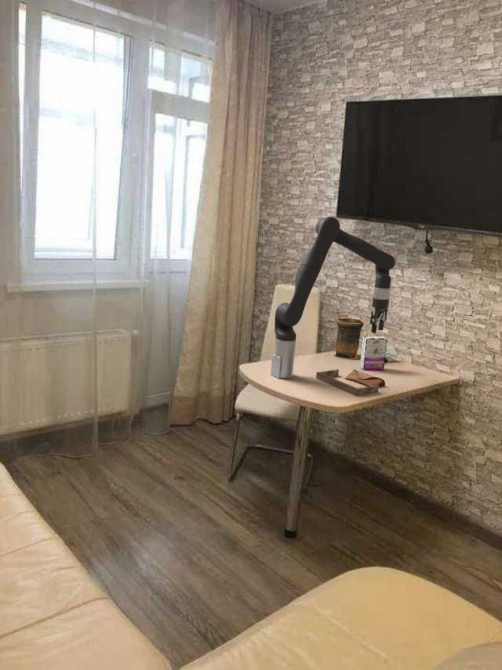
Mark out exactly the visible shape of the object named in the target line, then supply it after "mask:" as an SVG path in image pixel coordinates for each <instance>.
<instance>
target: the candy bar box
mask: <svg viewBox="0 0 502 670" xmlns="http://www.w3.org/2000/svg"><path fill="white" fill-rule="evenodd" d="M387 344H388V337H385V336H383V335H381V336H379V335H378V336H377V335H373V336H372V335H369V336H368V335H363V336H362V344H361V353H360V361H359V368H360V369H362V370H363V371H384V370H385V362H386V355H387V353H386V352H387Z"/></svg>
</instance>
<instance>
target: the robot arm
mask: <svg viewBox="0 0 502 670" xmlns="http://www.w3.org/2000/svg"><path fill="white" fill-rule="evenodd" d="M314 228H315V234H317V235H316V238H315V240H314V242H313V245H312V246H311V247H310V249H309V250H308V251H307V253H306V254H305V255H304V257H303V259H302V260H301V263H300V264H299V267H298V269H297V271H296V274H295V280H294V281H295V283H294V293H293V294H292V295H293V296H292V299H291V300H290V302H289V303H288V302H283V303H280V304H279V305H277V307H276V310H275V313H274V333H275V342H274V353H273V354H272V355H271V367H270V375H271V376H273V377H275V378H277V379H291V378H293V373H294V367H295V366H294V362H295V354H296V353H295V352H296V343H297V342H296V341H297V333H296V331H295V330H294V327H295V326H296V325H298V323H299V322H301V319H302V316H303V314H304V310H305V309H306V308H305V307H306V305H307V302H308V299H309V297H310V294H311V292H312V290H313V288H314V285H315V283H316V281H317V279H318V277H319V275H320V273H321V270H322V267H323V265H324V264H325V263H324V262H325V261H326V257H327V255H328V253H329V250H330V248H331V246H332V245H333V244H334V243H335V244H337V245H340V246H341V247H344V248H345V249H348V251H351V252H352V253H353V254H356V255H357V256H359V257H361V258H362V259H364V260H366V261H369V262H371V263H373V264H374V269H375V271H374V272H375V281H374V288H373V294H372V299H371V301H372V302H371V303H372V304H371V306H372V308H374V310H371V312H370V313H371V314H370V319H369V324H370V325H371V331H370V333H371V334H376V333H377V330H378V331H383V330H384V325H385V323H386V321H387V319H388V309H389V305H390V297H391V283H392V278H391V275H390V271H391V270H392V269H394V268H395V266H396V259H395V257H394V256H393V255H392V254H389V253H388V252H386V251H383V250H381V249H380V248H378V247H376V246H375V245H373V244H372V243H369V242H368V241H366V240H364V239H362V238H360V237H358V236H355V235H352V234H350V233H348V232H346V231H344V230H342V229H341V224H340V221H339V220H338V219H337V218H336V217H335V216H326V217H324V218H320V219H319V220H318V221H317V222H316V224H315V227H314ZM377 327H378V329H377Z"/></svg>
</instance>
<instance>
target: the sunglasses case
mask: <svg viewBox="0 0 502 670" xmlns="http://www.w3.org/2000/svg"><path fill="white" fill-rule="evenodd" d="M343 380H347V381H349V382H352V381H353V382H352V383H354V384H359V385H362V386H363V387H369V386H374V385H379V389H380V388H383V387H386V381H385V380H384V379H383V378H381V377H376V376H373V375H372V374H368V373H366V372H362V371H359V370H357V369H353V371H351V372H350V373H349V374H348V375H347V376H346V377H343Z"/></svg>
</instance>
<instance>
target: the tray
mask: <svg viewBox="0 0 502 670" xmlns="http://www.w3.org/2000/svg"><path fill="white" fill-rule="evenodd" d="M339 372H340V369H337V368H336V369H329V370H322V371H316V374H315V379H317V380H318V381H320V380H321V381H320V382H322V383H325V384H328V385H330V386H332V387H335V388H336V389H339V390H341V391H344V392H347V393H348V394H351V395H352V396H355V397H360V396H365V395H371V394H376V393H379V389H380V388H379V385H374V386H369V387H367V386H363V387H358V388H357V387H355V386H353V385H351V384H347V383H345V382H343V381H341V380H339V379H336V378H334V377H338V376H339Z"/></svg>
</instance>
